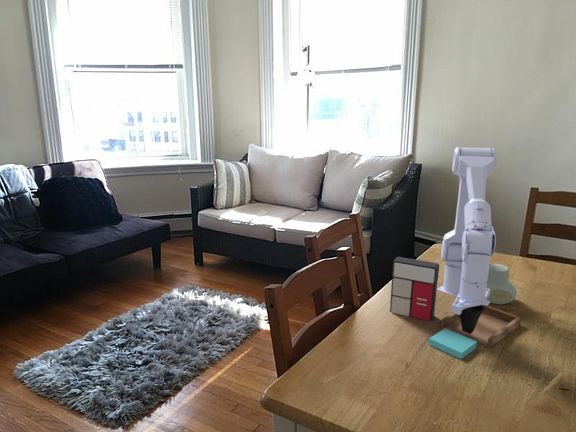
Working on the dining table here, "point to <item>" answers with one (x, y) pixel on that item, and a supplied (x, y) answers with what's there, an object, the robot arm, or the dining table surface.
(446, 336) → the cover plate
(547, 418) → the dining table surface
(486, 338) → the walnut box
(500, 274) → the air freshener
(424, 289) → the calculator
